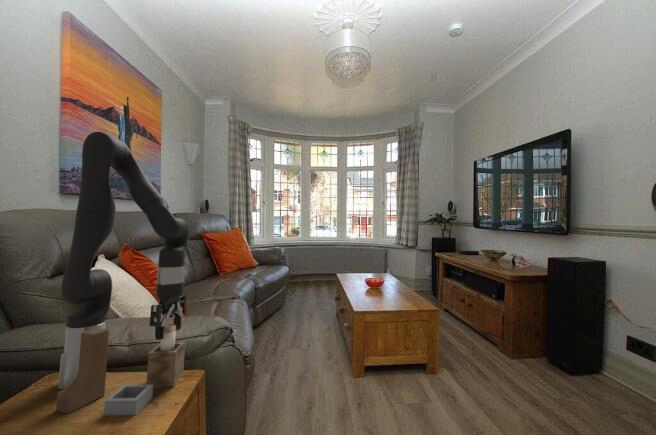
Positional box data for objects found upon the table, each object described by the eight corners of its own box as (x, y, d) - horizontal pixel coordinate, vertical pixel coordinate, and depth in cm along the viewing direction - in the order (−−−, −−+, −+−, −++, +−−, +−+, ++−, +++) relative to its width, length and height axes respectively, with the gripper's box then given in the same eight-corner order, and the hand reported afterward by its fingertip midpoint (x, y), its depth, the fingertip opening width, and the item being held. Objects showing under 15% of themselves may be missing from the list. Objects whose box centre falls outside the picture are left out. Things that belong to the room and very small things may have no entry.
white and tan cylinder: (158, 359, 85) (160, 328, 86) (160, 354, 89) (162, 324, 89) (173, 357, 87) (175, 327, 87) (175, 352, 90) (176, 323, 91)
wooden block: (67, 414, 71) (72, 340, 72) (55, 411, 72) (60, 338, 73) (105, 395, 79) (109, 329, 80) (93, 392, 80) (98, 327, 82)
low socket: (103, 415, 71) (104, 400, 71) (123, 397, 78) (124, 384, 78) (135, 414, 71) (136, 400, 71) (152, 397, 79) (153, 384, 79)
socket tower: (146, 388, 83) (148, 353, 84) (158, 375, 91) (159, 343, 91) (174, 386, 84) (175, 352, 85) (183, 374, 92) (185, 342, 92)
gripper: (173, 277, 97) (171, 326, 96) (142, 284, 82) (140, 342, 81) (194, 277, 96) (192, 327, 95) (167, 285, 82) (165, 343, 81)
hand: (168, 334), depth 88 cm, fingers open, 8 cm apart
